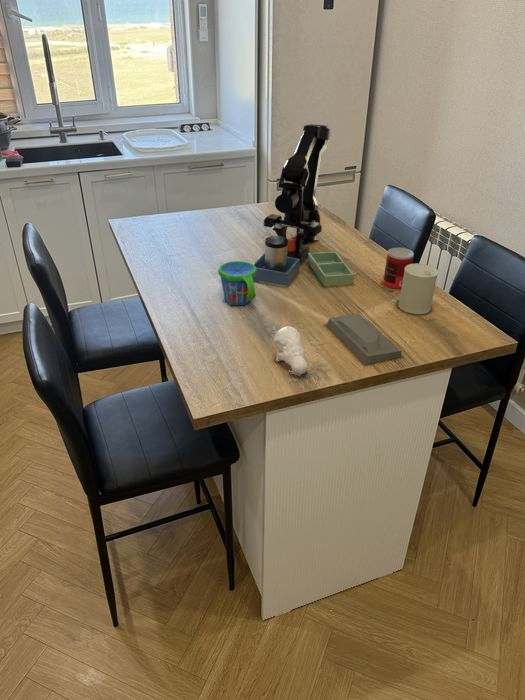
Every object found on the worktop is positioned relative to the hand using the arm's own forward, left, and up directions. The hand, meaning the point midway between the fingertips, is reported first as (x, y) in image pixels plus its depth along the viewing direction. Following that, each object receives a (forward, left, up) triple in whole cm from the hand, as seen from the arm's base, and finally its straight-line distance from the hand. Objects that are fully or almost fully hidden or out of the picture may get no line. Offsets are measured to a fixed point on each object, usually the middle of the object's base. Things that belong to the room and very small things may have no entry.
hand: (291, 249), depth 184 cm
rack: (-1, +17, -3) cm, 17 cm away
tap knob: (0, 0, 0) cm, 0 cm away
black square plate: (0, 0, -3) cm, 3 cm away
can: (-4, +48, -3) cm, 48 cm away
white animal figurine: (+45, +47, -3) cm, 65 cm away
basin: (+14, +7, -3) cm, 16 cm away
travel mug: (+14, +7, -2) cm, 16 cm away
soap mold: (+23, +50, -3) cm, 55 cm away
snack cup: (+33, +13, -3) cm, 36 cm away
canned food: (-11, +36, -3) cm, 37 cm away
